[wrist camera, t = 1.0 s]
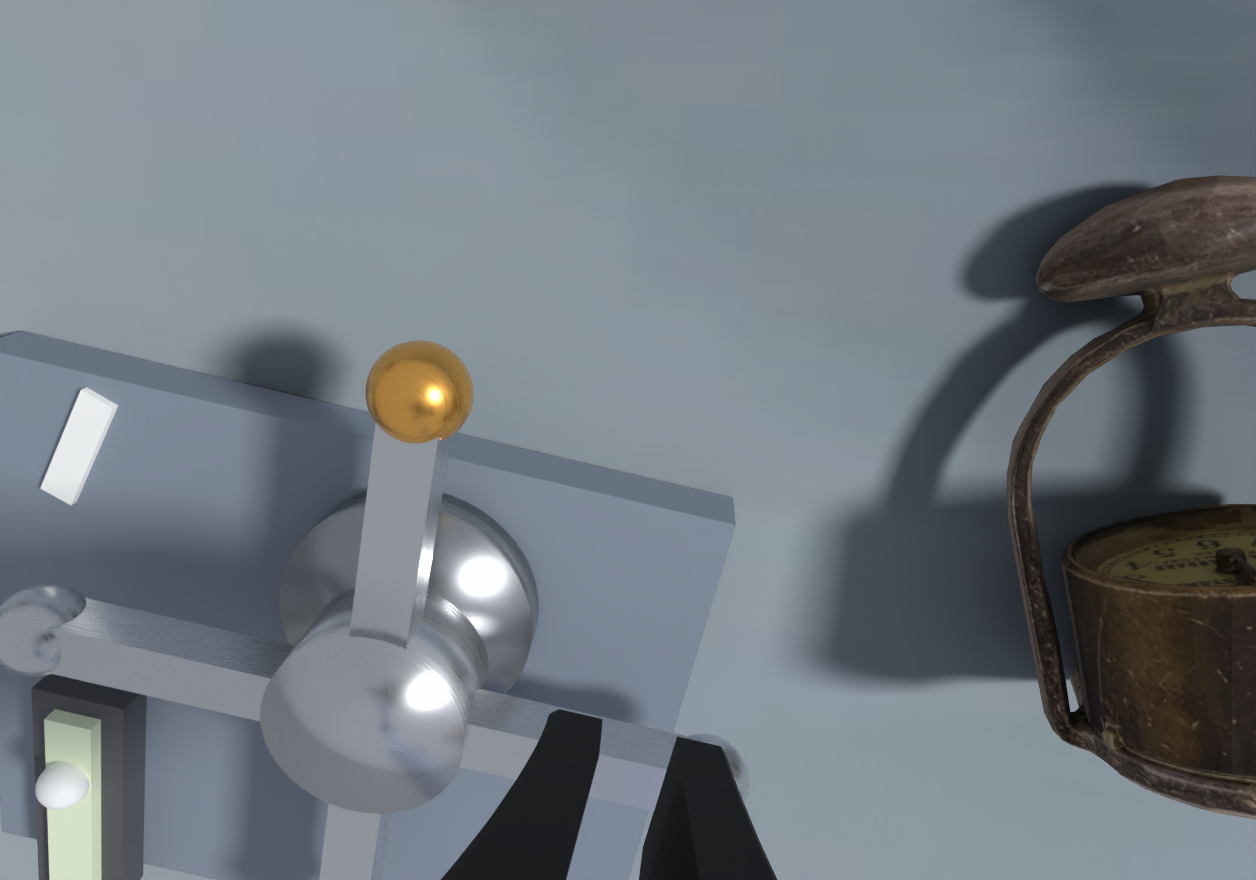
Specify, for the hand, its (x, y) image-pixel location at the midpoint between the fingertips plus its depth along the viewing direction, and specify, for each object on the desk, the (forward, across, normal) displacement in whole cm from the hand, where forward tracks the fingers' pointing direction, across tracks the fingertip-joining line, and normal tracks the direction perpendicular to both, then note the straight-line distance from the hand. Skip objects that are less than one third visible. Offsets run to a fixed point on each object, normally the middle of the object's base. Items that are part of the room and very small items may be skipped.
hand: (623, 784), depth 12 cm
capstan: (+9, +5, +5) cm, 11 cm away
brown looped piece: (+11, -12, -4) cm, 16 cm away
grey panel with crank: (+10, +7, +8) cm, 15 cm away
